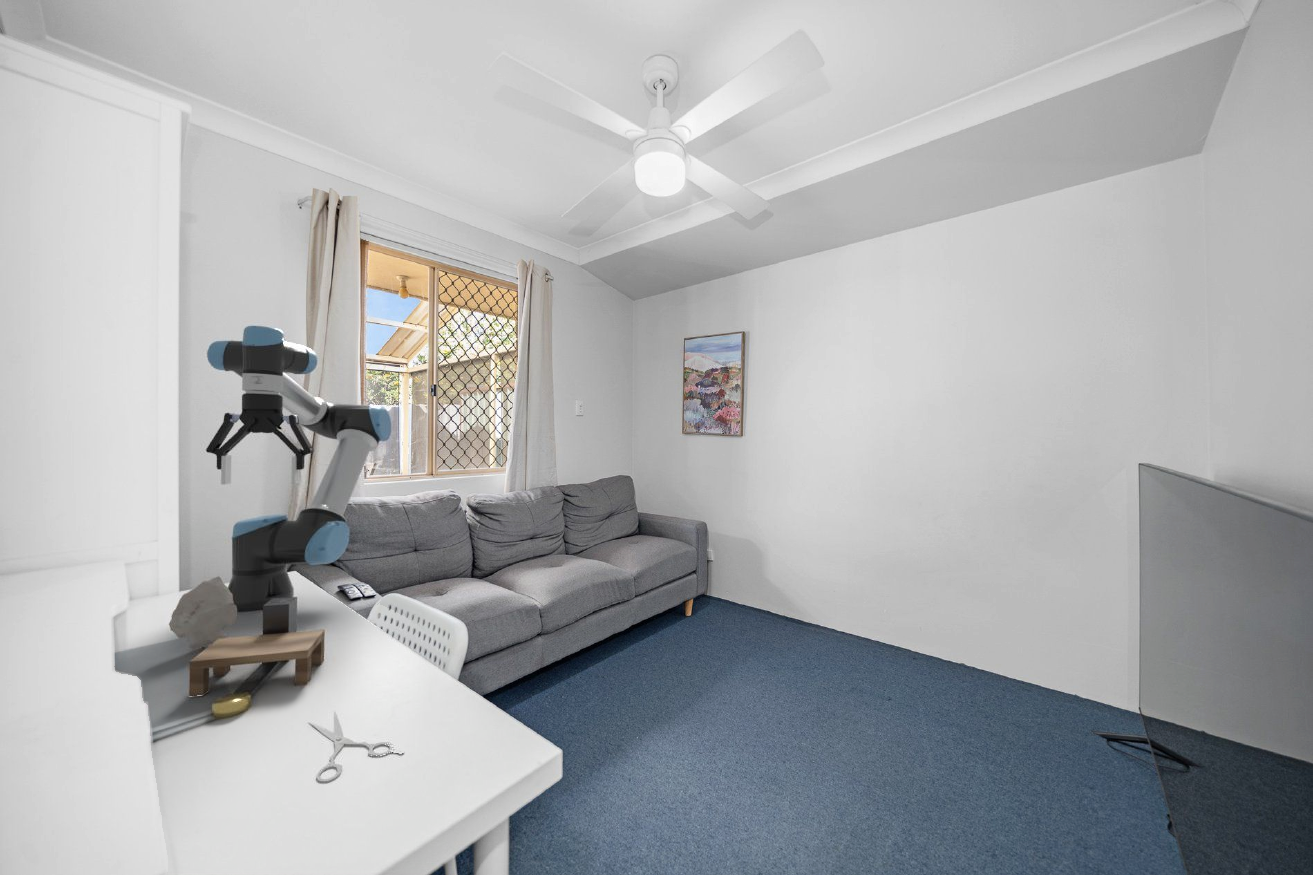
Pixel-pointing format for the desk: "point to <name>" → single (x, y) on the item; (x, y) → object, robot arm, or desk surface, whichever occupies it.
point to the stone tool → (204, 613)
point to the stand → (257, 655)
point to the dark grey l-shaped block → (275, 620)
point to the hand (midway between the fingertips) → (261, 483)
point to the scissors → (339, 744)
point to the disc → (231, 705)
